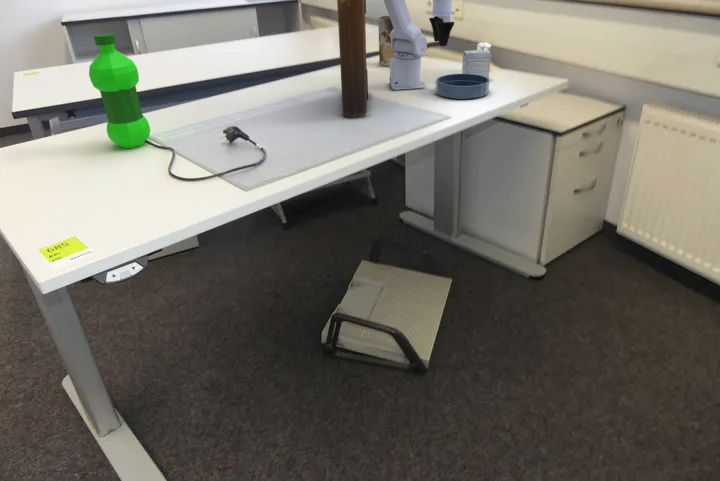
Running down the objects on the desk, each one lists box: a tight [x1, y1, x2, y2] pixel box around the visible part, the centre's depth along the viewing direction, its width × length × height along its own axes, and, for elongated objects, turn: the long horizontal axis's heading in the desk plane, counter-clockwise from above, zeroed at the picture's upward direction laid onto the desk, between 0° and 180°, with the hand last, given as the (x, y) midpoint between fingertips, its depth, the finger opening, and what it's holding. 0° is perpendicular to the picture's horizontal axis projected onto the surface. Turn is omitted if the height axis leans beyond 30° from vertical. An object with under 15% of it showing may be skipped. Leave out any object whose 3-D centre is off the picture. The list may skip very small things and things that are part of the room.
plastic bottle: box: [88, 32, 151, 149], centre depth 123 cm, size 10×10×25 cm
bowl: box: [435, 73, 490, 100], centre depth 157 cm, size 15×15×4 cm
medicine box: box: [461, 49, 492, 80], centre depth 169 cm, size 8×4×9 cm, turn 92°
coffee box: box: [377, 15, 397, 67], centre depth 189 cm, size 9×6×16 cm
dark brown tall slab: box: [336, 0, 369, 118], centre depth 143 cm, size 23×7×30 cm, turn 179°
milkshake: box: [476, 39, 495, 53], centre depth 178 cm, size 4×5×10 cm
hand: (440, 43), depth 171 cm, fingers open, 7 cm apart
